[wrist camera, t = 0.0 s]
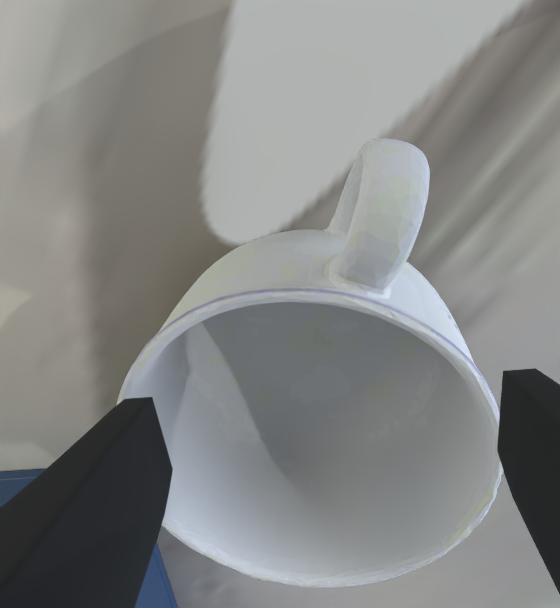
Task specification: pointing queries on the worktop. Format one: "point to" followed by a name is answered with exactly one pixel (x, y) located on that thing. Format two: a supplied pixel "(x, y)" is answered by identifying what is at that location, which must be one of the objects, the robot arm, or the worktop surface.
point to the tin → (156, 587)
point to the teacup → (324, 397)
